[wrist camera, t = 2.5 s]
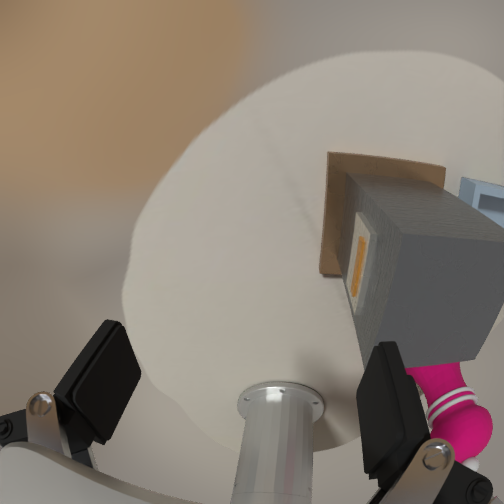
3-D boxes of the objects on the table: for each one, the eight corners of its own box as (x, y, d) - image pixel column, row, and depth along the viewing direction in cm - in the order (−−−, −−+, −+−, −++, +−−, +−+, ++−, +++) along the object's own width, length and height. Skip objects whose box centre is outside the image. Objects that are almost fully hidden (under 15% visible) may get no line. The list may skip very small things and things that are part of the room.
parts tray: (504, 282, 25) (514, 293, 22) (437, 282, 26) (446, 296, 24) (529, 193, 20) (542, 200, 17) (461, 177, 21) (475, 183, 19)
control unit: (420, 271, 26) (479, 372, 13) (318, 268, 27) (333, 387, 15) (440, 165, 21) (545, 220, 9) (327, 151, 22) (374, 194, 10)
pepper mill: (450, 315, 28) (515, 453, 10) (407, 351, 31) (445, 494, 13) (424, 283, 26) (504, 446, 9) (375, 325, 29) (413, 494, 12)
